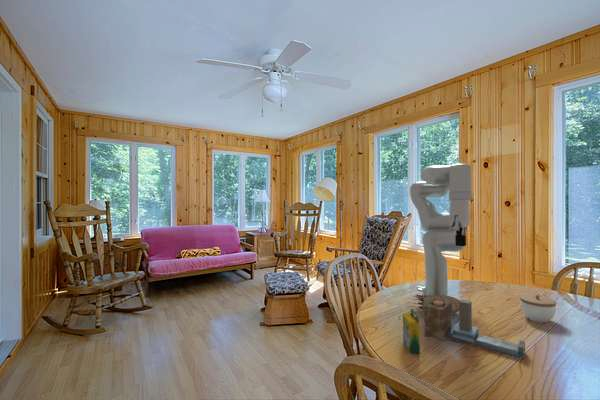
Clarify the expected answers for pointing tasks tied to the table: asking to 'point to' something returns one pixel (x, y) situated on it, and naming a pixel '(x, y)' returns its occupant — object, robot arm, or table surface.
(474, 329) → the carriage
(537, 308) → the lidded jar
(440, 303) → the orange and grey cylinder
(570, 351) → the table surface
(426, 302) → the nautilus
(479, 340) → the rail
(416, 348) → the crayon box
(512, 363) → the table surface
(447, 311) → the end cabinet
